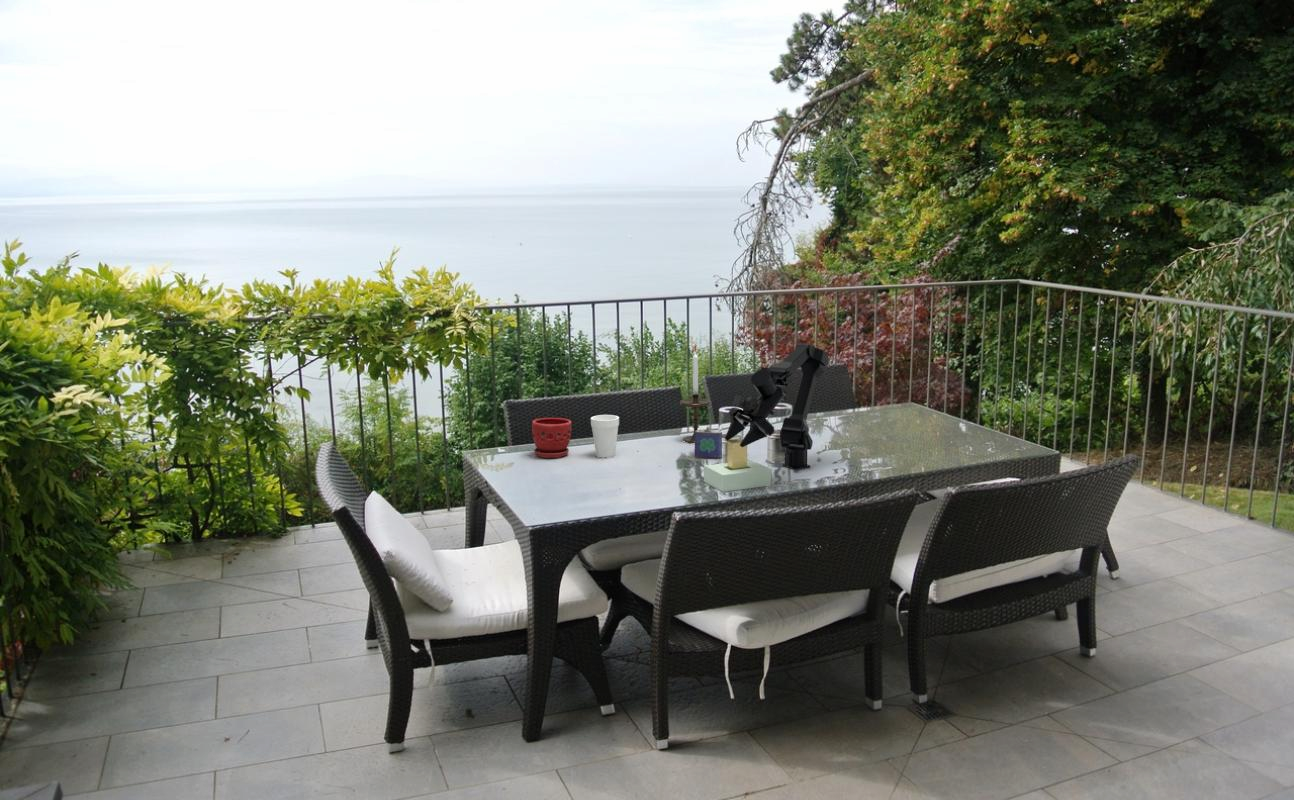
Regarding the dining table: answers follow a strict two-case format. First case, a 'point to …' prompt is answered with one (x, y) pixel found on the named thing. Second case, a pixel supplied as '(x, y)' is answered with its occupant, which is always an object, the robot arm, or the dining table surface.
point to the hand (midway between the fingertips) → (733, 443)
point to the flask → (708, 444)
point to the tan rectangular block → (736, 455)
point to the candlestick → (694, 400)
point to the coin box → (737, 476)
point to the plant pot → (551, 437)
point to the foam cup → (605, 434)
